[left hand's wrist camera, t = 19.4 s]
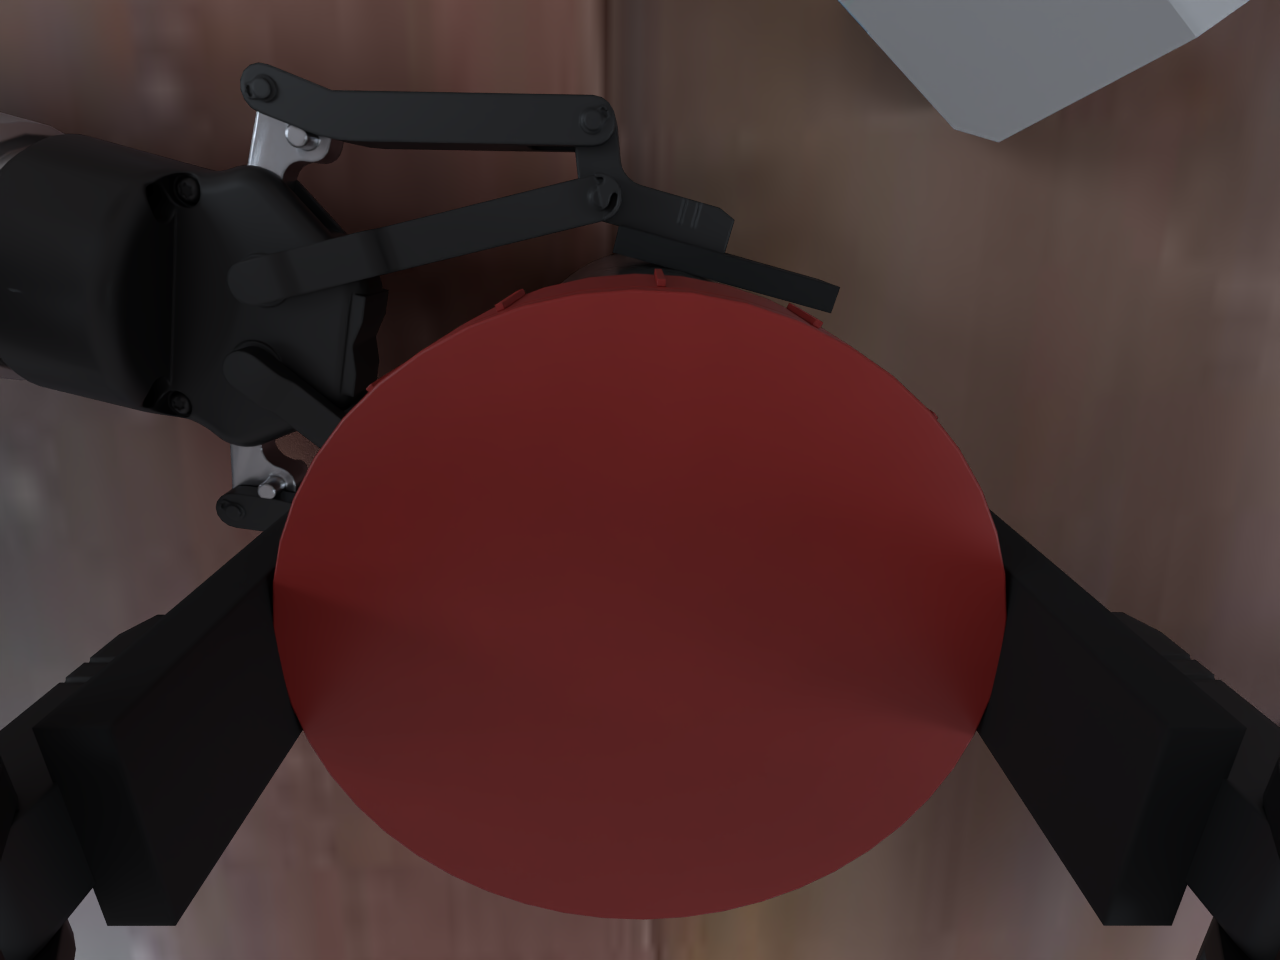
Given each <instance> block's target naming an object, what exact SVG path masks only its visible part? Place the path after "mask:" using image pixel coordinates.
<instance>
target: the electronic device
mask: <svg viewBox="0 0 1280 960" xmlns="http://www.w3.org/2000/svg"><path fill="white" fill-rule="evenodd" d="M838 1H839V2H840V3H841V5H842V6H843V7H844V8H845V9H846V10H847V11H848V12H849V13H850V14H851V16H852V17H853V18H854V19H855V20H856V21H857V22H858V23H859V24H860V26H861V27H862V28H863V29H864V30H865V31H866V32H867V33H868V34H869V36H870V37H871V38H872V39H873V40H874V41H875V42H876V43H877V44H878V46H879V47H880V48H881V49H882V50H883V51H884V52H885V53H886V54H887V56H888V57H889V58H890V59H891V60H892V61H893V62H894V63H895V64H896V66H897V67H898V68H899V69H900V70H901V71H902V72H903V73H904V74H905V76H906V77H907V78H908V79H909V80H910V81H911V82H912V83H913V84H914V86H915V87H916V88H917V89H918V90H919V91H920V92H921V93H922V94H923V95H924V97H925V98H926V99H927V100H928V101H929V102H930V103H931V104H932V105H933V107H934V108H935V109H936V110H937V111H938V112H939V113H940V114H941V115H942V117H943V118H944V119H945V120H946V121H947V122H948V123H949V124H950V125H951V127H952V128H953V129H955V130H958V131H962V132H965V133H969V134H972V135H975V136H979V137H982V138H986V139H989V140H992V141H996V142H1000V141H1002V140H1004V139H1006V138H1008V137H1010V136H1012V135H1014V134H1015V133H1017V132H1019V131H1021V130H1023V129H1025V128H1027V127H1029V126H1031V125H1032V124H1034V123H1036V122H1038V121H1040V120H1042V119H1044V118H1046V117H1048V116H1050V115H1051V114H1053V113H1055V112H1057V111H1059V110H1061V109H1063V108H1065V107H1067V106H1068V105H1070V104H1072V103H1074V102H1076V101H1078V100H1080V99H1082V98H1084V97H1085V96H1087V95H1089V94H1091V93H1093V92H1095V91H1097V90H1099V89H1101V88H1102V87H1104V86H1106V85H1108V84H1110V83H1112V82H1114V81H1116V80H1118V79H1120V78H1121V77H1123V76H1125V75H1127V74H1129V73H1131V72H1133V71H1135V70H1137V69H1138V68H1140V67H1142V66H1144V65H1146V64H1148V63H1150V62H1152V61H1154V60H1155V59H1157V58H1159V57H1161V56H1163V55H1165V54H1167V53H1169V52H1171V51H1172V50H1174V49H1176V48H1178V47H1180V46H1182V45H1184V44H1186V43H1188V42H1189V41H1191V40H1193V39H1195V38H1197V37H1198V36H1200V35H1201V34H1203V33H1204V32H1205V31H1207V30H1208V29H1210V28H1211V27H1212V26H1214V25H1215V24H1217V23H1218V22H1220V21H1221V20H1222V19H1224V18H1225V17H1227V16H1228V15H1229V14H1231V13H1232V12H1234V11H1235V10H1236V9H1238V8H1239V7H1241V6H1242V5H1244V4H1245V3H1246V2H1248V1H1249V0H838Z"/></svg>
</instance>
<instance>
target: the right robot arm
mask: <svg viewBox="0 0 1280 960" xmlns="http://www.w3.org/2000/svg"><path fill="white" fill-rule="evenodd" d="M240 83H241V92H242V94H243V97H244V99H245V101H246V102H247V103H248V104H249V106H250V107H251V108H253V109H254V110H256V111H257V112H256V118H255V124H254V130H253V136H252V142H251V148H250V154H249V160H248V165H242V166H237V167H234V168H231V169H228V170H224V171H214V170H210V169H206V168H202V167H199V166H195V165H191V164H188V163H184V162H180V161H177V160H173V159H169V158H166V157H162V156H159V155H155V154H151V153H148V152H144V151H140V150H137V149H133V148H129V147H126V146H122V145H119V144H115V143H111V142H108V141H104V140H100V139H97V138H93V137H89V136H85V135H80V134H64V133H62V132H61V131H59V130H57V129H55V128H54V127H52V126H50V125H46V124H42V123H39V122H35V121H31V120H28V119H24V118H20V117H17V116H13V115H9V114H5V113H2V112H0V378H7V379H16V380H27V381H29V382H31V383H34V384H36V385H39V386H42V387H46V388H50V389H54V390H58V391H62V392H66V393H71V394H75V395H79V396H83V397H87V398H91V399H95V400H99V401H103V402H107V403H111V404H116V405H120V406H124V407H128V408H132V409H136V410H140V411H144V412H149V413H155V414H161V415H168V416H175V417H182V418H187V419H190V420H193V421H195V422H197V423H199V424H201V425H203V426H205V427H206V428H208V429H209V430H211V431H212V432H213V433H214V434H216V435H217V436H218V437H220V438H221V439H222V440H224V441H226V442H228V443H230V448H231V467H232V485H233V486H232V490H230V491H229V492H227V493H226V494H224V495H223V496H221V497H220V498H219V500H218V501H217V505H216V510H217V514H218V516H219V517H220V518H221V520H222V521H223V522H225V523H226V524H227V525H229V526H233V527H236V528H243V529H250V530H258V531H265V530H266V529H267V528H268V527H269V526H271V525H272V524H273V523H274V522H275V521H277V520H278V519H279V518H280V517H281V516H282V515H284V514H285V513H286V512H287V511H288V510H290V507H291V504H292V501H293V498H294V496H295V494H296V492H297V490H298V488H299V486H300V484H301V483H302V481H303V479H304V477H305V475H306V473H307V470H308V468H307V465H306V463H305V462H303V461H302V460H294V459H292V458H289V457H287V456H285V455H284V454H282V453H281V452H280V450H279V449H278V448H277V446H276V443H275V439H277V438H280V437H282V436H285V435H287V434H290V433H292V432H295V431H298V432H299V433H301V434H302V435H303V436H305V437H306V438H307V439H309V440H310V441H311V442H312V443H314V444H315V445H316V446H318V447H319V448H320V449H321V447H322V446H323V445H324V443H325V442H326V441H327V439H328V438H329V436H330V435H331V434H332V432H333V431H334V430H335V428H336V427H337V425H338V424H339V423H340V421H341V420H342V419H343V417H344V416H345V415H346V414H347V413H348V412H349V411H350V410H351V409H352V408H353V407H354V406H355V405H356V404H357V403H358V402H359V401H360V400H361V399H362V398H363V397H364V396H365V395H366V394H367V393H368V391H367V390H366V388H367V387H368V386H369V385H370V384H372V383H373V382H375V381H376V380H377V373H378V366H379V356H378V348H377V341H376V334H377V332H378V329H379V327H380V325H381V323H382V320H383V318H384V316H385V313H386V306H387V298H388V291H389V290H387V289H383V288H382V283H381V279H380V275H384V274H388V273H392V272H396V271H400V270H404V269H408V268H412V267H416V266H420V265H425V264H429V263H433V262H437V261H441V260H445V259H449V258H453V257H457V256H461V255H466V254H470V253H474V252H478V251H482V250H486V249H490V248H494V247H498V246H502V245H506V244H511V243H515V242H519V241H523V240H527V239H531V238H535V237H539V236H543V235H547V234H552V233H556V232H560V231H564V230H568V229H572V228H576V227H580V226H584V225H588V224H593V223H597V222H601V221H603V222H607V223H610V224H614V225H617V226H619V228H618V233H617V237H616V241H615V245H614V249H613V253H616V254H620V255H624V256H627V257H631V258H634V259H638V260H641V261H645V262H649V263H652V264H656V265H659V266H663V267H667V268H670V269H674V270H678V271H682V272H685V273H688V274H692V275H695V276H699V277H703V278H706V279H710V280H713V281H717V282H721V283H724V284H728V285H731V286H735V287H739V288H742V289H746V290H749V291H753V292H757V293H760V294H764V295H767V296H771V297H775V298H778V299H782V300H785V301H789V302H793V303H796V304H800V305H803V306H807V307H811V308H814V309H818V310H821V311H825V312H828V313H831V311H832V309H833V306H834V303H835V300H836V297H837V295H838V292H839V289H840V287H838V286H835V285H833V284H830V283H827V282H824V281H822V280H819V279H816V278H812V277H809V276H805V275H802V274H798V273H795V272H791V271H788V270H784V269H781V268H777V267H773V266H770V265H766V264H763V263H759V262H756V261H752V260H749V259H745V258H742V257H738V256H734V255H731V254H727V253H725V251H726V247H727V244H728V240H729V237H730V234H731V230H732V227H733V223H734V219H733V218H731V217H730V216H729V215H728V214H726V213H725V212H724V211H723V210H722V209H720V208H718V207H715V206H711V205H708V204H704V203H701V202H697V201H694V200H690V199H687V198H683V197H680V196H676V195H673V194H670V193H666V192H663V191H659V190H656V189H652V188H649V187H645V186H642V185H639V184H637V183H635V182H633V181H632V180H631V179H629V178H628V177H627V175H626V174H625V173H624V171H623V169H622V165H621V159H620V148H619V137H618V126H617V122H616V118H615V114H614V111H613V109H612V107H611V106H610V104H609V102H607V101H606V100H605V99H603V98H602V97H599V96H595V95H566V94H511V93H455V92H399V91H344V90H330V89H328V88H325V87H323V86H320V85H318V84H316V83H313V82H311V81H308V80H306V79H303V78H301V77H298V76H296V75H293V74H291V73H288V72H286V71H283V70H281V69H278V68H276V67H273V66H271V65H268V64H264V63H255V64H251V65H249V66H248V67H247V68H246V69H245V70H244V71H243V74H242V76H241V79H240ZM344 142H347V143H351V144H355V145H360V146H365V147H370V148H381V149H419V150H476V151H534V152H575V154H576V163H577V172H578V179H574V180H570V181H566V182H562V183H558V184H554V185H550V186H546V187H542V188H538V189H534V190H530V191H526V192H522V193H518V194H514V195H510V196H506V197H502V198H498V199H494V200H490V201H486V202H482V203H478V204H474V205H470V206H466V207H462V208H458V209H454V210H450V211H446V212H442V213H438V214H434V215H430V216H426V217H422V218H418V219H414V220H410V221H406V222H402V223H398V224H394V225H390V226H386V227H382V228H377V229H371V230H366V231H362V232H357V233H353V234H349V235H347V234H346V233H345V231H344V230H343V229H342V228H341V227H340V226H339V225H338V224H337V223H336V222H335V220H334V219H333V218H332V217H331V216H330V215H329V214H328V213H327V212H326V211H325V209H324V208H323V207H322V206H321V205H320V204H319V203H318V202H317V201H316V200H315V198H314V197H313V196H312V195H311V194H310V193H309V192H308V191H307V190H306V189H305V187H304V186H303V185H302V184H301V183H300V182H299V181H298V180H297V177H298V174H299V172H300V171H301V169H302V168H303V167H304V166H306V165H308V164H311V163H320V164H329V163H332V162H334V161H335V160H337V159H338V157H339V156H340V154H341V151H342V148H343V143H344Z"/></svg>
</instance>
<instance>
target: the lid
mask: <svg viewBox="0 0 1280 960" xmlns="http://www.w3.org/2000/svg"><path fill="white" fill-rule="evenodd" d="M822 324H823V322H822V321H820V320H818V319H817V318H815V317H813V316H812V315H810V314H808V313H807V312H805V311H803V310H801V309H800V308H798V307H796V306H795V305H793V304H791V303H789V304H788V306H787V308H785V307H783V306H781V305H779V304H777V303H775V302H773V301H771V300H769V299H766V298H763V297H760V296H757V295H754V294H751V293H748V292H745V291H743V290H740V289H737V288H734V287H731V286H728V285H724V284H719V283H714V282H708V281H703V280H698V279H693V278H688V277H683V276H668V275H664V274H663V271H662V269H655V271H654V275H650V274H625V275H613V276H601V277H589V278H584V279H580V280H575V281H571V282H566V283H562V284H557V285H553V286H548V287H544V288H541V289H539V290H536V291H533V292H531V293H528V294H525V292H524V289H521V290H518V291H516V292H514V293H513V294H511V295H510V296H508V297H507V298H505V299H503V300H502V301H500V302H499V303H497V304H496V305H495V307H494V308H492V309H490V310H488V311H487V312H485V313H483V314H481V315H479V316H477V317H475V318H474V319H472V320H470V321H468V322H466V323H464V324H463V325H461V326H459V327H458V328H456V329H455V330H453V331H452V332H450V333H448V334H447V335H445V336H444V337H442V338H440V339H439V340H437V341H436V342H434V343H432V344H431V345H429V346H428V347H426V348H424V349H423V350H421V351H420V352H418V353H417V354H416V355H414V356H413V357H412V358H410V359H409V360H408V361H406V362H405V363H403V364H401V365H400V366H398V367H397V368H395V369H394V370H392V371H390V372H389V373H387V374H386V375H384V376H383V377H381V378H379V379H378V380H376V381H375V382H373V383H372V384H370V385H369V386H368V387H367V388H366V390H367V391H368V393H367V394H366V395H365V396H364V397H363V398H362V399H361V400H360V401H359V402H358V403H357V404H356V405H355V406H354V407H353V408H352V409H351V410H350V411H349V412H348V413H347V414H346V415H345V416H344V417H343V419H342V420H341V421H340V423H339V424H338V425H337V427H336V428H335V430H334V431H333V432H332V434H331V435H330V436H329V438H328V439H327V441H326V442H325V443H324V445H323V446H322V447H321V449H320V450H319V452H318V453H317V454H316V456H315V457H314V459H313V461H312V463H311V465H310V467H309V469H308V471H307V473H306V475H305V477H304V479H303V481H302V483H301V484H300V486H299V488H298V490H297V492H296V494H295V496H294V498H293V501H292V504H291V507H290V510H289V513H288V517H287V520H286V523H285V526H284V529H283V532H282V535H281V538H280V542H279V548H278V555H277V561H276V567H275V574H274V580H273V627H274V632H275V637H276V642H277V647H278V652H279V656H280V661H281V665H282V670H283V675H284V679H285V683H286V687H287V691H288V696H289V699H290V703H291V706H292V708H293V710H294V712H295V714H296V716H297V718H298V720H299V722H300V725H301V727H302V729H303V731H304V733H305V735H306V737H307V739H308V741H309V743H310V744H311V746H312V748H313V749H314V751H315V752H316V754H317V755H318V757H319V758H320V760H321V761H322V763H323V764H324V766H325V767H326V769H327V771H328V772H329V774H330V775H331V776H332V777H333V779H334V780H335V781H336V782H337V783H338V784H339V786H340V787H341V788H342V789H343V790H344V791H345V793H346V794H347V795H348V796H349V797H350V799H351V800H352V801H353V802H354V803H355V804H356V805H357V806H358V807H359V808H360V809H361V810H362V811H363V812H364V813H365V814H366V815H367V816H368V817H370V818H371V819H372V820H373V821H374V822H375V823H376V824H377V825H378V826H379V827H380V828H381V829H383V830H384V831H385V832H386V833H387V834H389V835H390V836H391V837H393V838H394V839H396V840H397V841H398V842H400V843H401V844H402V845H404V846H405V847H406V848H408V849H409V850H411V851H412V852H413V853H415V854H416V855H418V856H419V857H421V858H423V859H424V860H426V861H428V862H430V863H431V864H433V865H435V866H437V867H438V868H440V869H442V870H443V871H445V872H447V873H449V874H450V875H452V876H455V877H457V878H459V879H461V880H463V881H466V882H468V883H470V884H472V885H475V886H477V887H479V888H481V889H484V890H486V891H488V892H491V893H494V894H497V895H500V896H503V897H506V898H509V899H512V900H515V901H518V902H521V903H524V904H528V905H532V906H537V907H541V908H545V909H550V910H554V911H559V912H563V913H570V914H577V915H585V916H593V917H600V918H618V919H661V918H678V917H688V916H695V915H701V914H708V913H715V912H721V911H726V910H730V909H734V908H738V907H742V906H746V905H750V904H754V903H758V902H762V901H765V900H768V899H770V898H773V897H776V896H779V895H782V894H784V893H787V892H790V891H793V890H796V889H798V888H801V887H803V886H805V885H807V884H809V883H811V882H813V881H816V880H818V879H820V878H822V877H824V876H826V875H828V874H830V873H832V872H835V871H836V870H838V869H840V868H841V867H843V866H845V865H846V864H848V863H849V862H851V861H853V860H854V859H856V858H858V857H859V856H861V855H863V854H864V853H866V852H868V851H869V850H870V849H872V848H873V847H874V846H876V845H877V844H878V843H880V842H881V841H882V840H883V839H885V838H886V837H887V836H889V835H890V834H891V833H893V832H894V831H895V830H896V829H898V828H899V827H900V826H901V825H902V824H903V823H904V822H906V821H907V820H908V819H909V818H910V817H911V816H912V815H913V814H914V813H915V812H916V811H917V810H918V809H919V808H920V807H921V806H922V805H923V804H924V803H925V802H926V801H927V800H928V799H929V798H930V797H931V796H932V794H933V793H934V792H935V791H936V789H937V788H938V787H939V786H940V784H941V783H942V782H943V781H944V779H945V778H946V777H947V776H948V775H949V773H950V772H951V771H952V770H953V768H954V767H955V765H956V764H957V762H958V760H959V759H960V757H961V755H962V754H963V752H964V751H965V749H966V747H967V746H968V744H969V742H970V741H971V739H972V738H973V736H974V734H975V732H976V730H977V728H978V725H979V723H980V721H981V718H982V716H983V714H984V712H985V709H986V707H987V705H988V703H989V700H990V697H991V692H992V688H993V684H994V679H995V675H996V670H997V666H998V661H999V657H1000V652H1001V647H1002V642H1003V637H1004V632H1005V626H1006V619H1007V611H1006V578H1005V570H1004V565H1003V560H1002V554H1001V549H1000V544H999V539H998V533H997V530H996V527H995V524H994V522H993V519H992V516H991V513H990V511H989V508H988V505H987V502H986V499H985V497H984V494H983V491H982V489H981V487H980V485H979V483H978V482H977V480H976V478H975V476H974V474H973V473H972V471H971V469H970V467H969V465H968V464H967V462H966V460H965V458H964V456H963V454H962V453H961V451H960V449H959V448H958V446H957V445H956V444H955V443H954V441H953V440H952V439H951V437H950V436H949V435H948V434H947V432H946V431H945V430H944V428H943V427H942V426H941V425H940V423H939V422H938V421H937V419H938V417H937V416H936V414H935V413H934V412H932V411H931V410H929V409H928V408H926V407H925V406H924V405H923V404H922V403H921V402H920V401H919V400H918V399H917V398H916V397H915V396H914V395H913V394H912V393H911V392H910V391H908V390H907V389H906V388H905V387H904V386H903V385H902V384H901V383H900V382H899V381H898V380H897V379H896V378H895V377H894V376H893V375H891V374H890V373H888V372H887V371H885V370H884V369H883V368H881V367H880V366H878V365H877V364H875V363H874V362H873V361H871V360H870V359H868V358H867V357H865V356H864V355H863V354H861V353H860V352H858V351H857V350H855V349H854V348H853V347H851V346H850V345H848V344H847V343H845V342H843V341H842V340H840V339H839V338H837V337H835V336H834V335H832V334H831V333H829V332H828V331H826V330H824V329H823V328H821V326H822Z"/></svg>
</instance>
